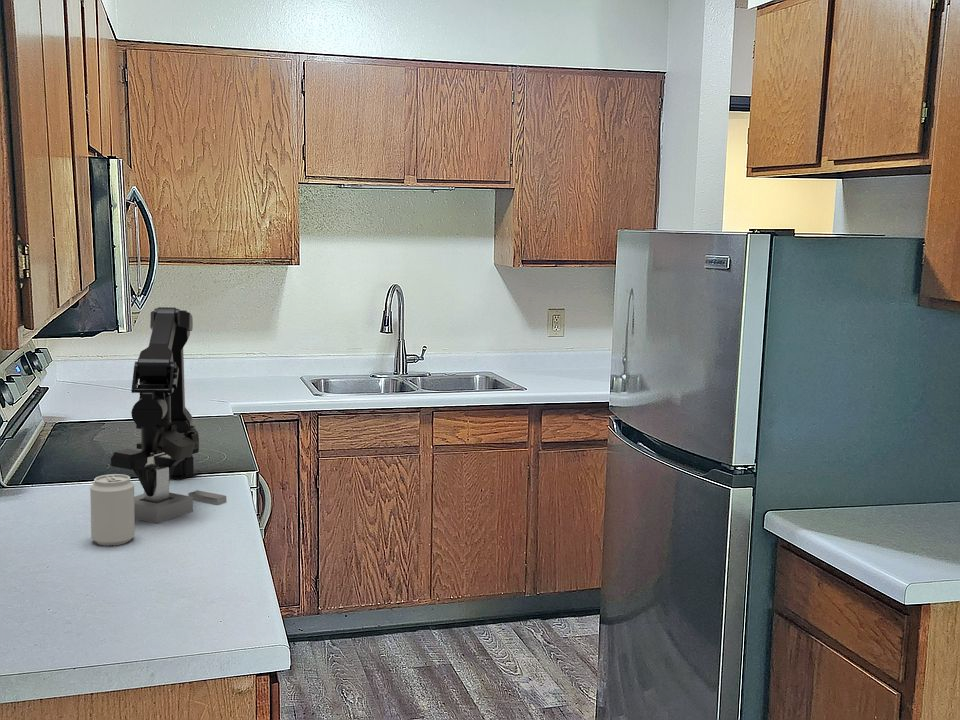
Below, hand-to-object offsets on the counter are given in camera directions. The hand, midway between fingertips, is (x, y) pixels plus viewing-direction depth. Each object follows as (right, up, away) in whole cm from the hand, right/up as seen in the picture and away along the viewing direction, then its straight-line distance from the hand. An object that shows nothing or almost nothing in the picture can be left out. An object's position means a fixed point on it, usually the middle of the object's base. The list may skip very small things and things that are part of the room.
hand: (156, 494), depth 195 cm
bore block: (0, -4, 0) cm, 4 cm away
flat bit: (+7, -3, +11) cm, 13 cm away
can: (-2, -6, -17) cm, 19 cm away
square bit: (0, -3, 0) cm, 2 cm away
